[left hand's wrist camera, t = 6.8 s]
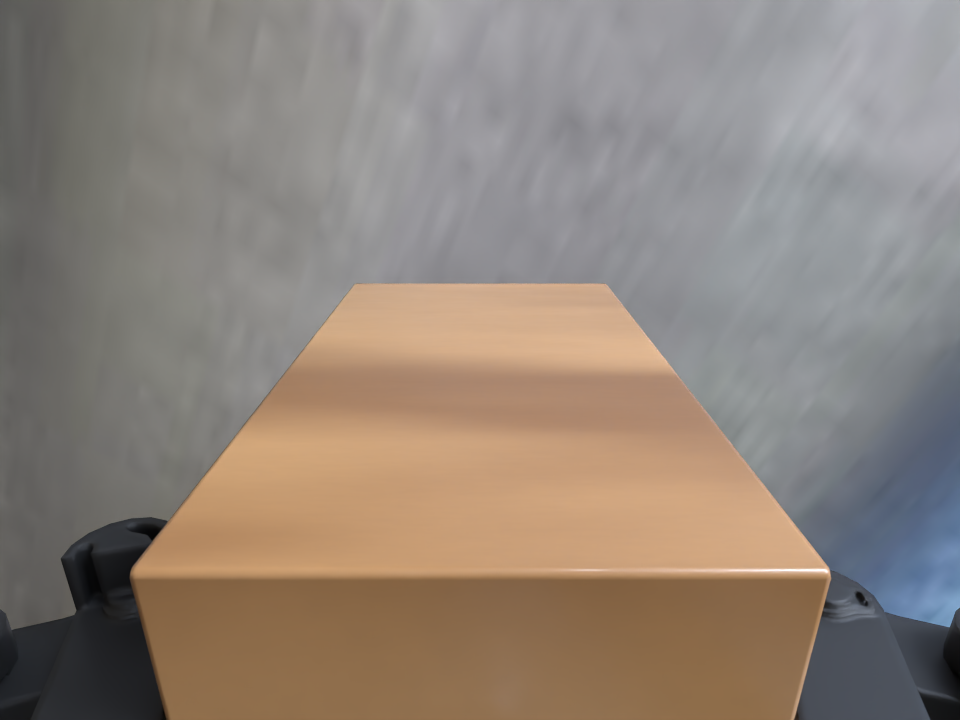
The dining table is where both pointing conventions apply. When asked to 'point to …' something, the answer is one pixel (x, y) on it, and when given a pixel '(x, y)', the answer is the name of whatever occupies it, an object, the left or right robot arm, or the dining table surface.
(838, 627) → the left robot arm
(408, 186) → the dining table surface
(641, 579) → the bar
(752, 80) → the dining table surface
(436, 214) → the dining table surface
